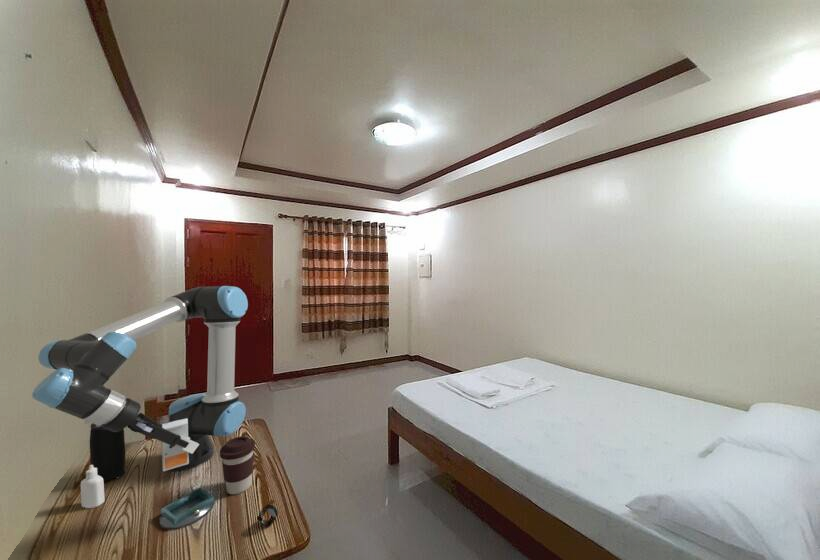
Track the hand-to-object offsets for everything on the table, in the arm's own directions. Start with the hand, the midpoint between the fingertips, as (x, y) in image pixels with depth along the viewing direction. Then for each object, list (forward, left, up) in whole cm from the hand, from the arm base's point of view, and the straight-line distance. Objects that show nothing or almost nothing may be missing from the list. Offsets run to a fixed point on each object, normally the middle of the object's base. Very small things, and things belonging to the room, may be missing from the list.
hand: (190, 445), depth 92 cm
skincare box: (+1, -4, -4) cm, 6 cm away
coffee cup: (-1, +12, -19) cm, 22 cm away
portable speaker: (-34, -24, -19) cm, 46 cm away
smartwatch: (+21, +17, -19) cm, 32 cm away
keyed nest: (+2, -1, -18) cm, 18 cm away
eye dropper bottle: (-19, -25, -19) cm, 37 cm away
